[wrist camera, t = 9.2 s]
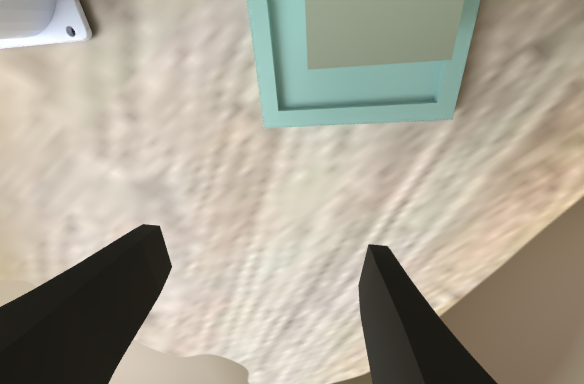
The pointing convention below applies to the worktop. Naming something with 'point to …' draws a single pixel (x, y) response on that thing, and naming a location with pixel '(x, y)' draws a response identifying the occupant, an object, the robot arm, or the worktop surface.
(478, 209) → the worktop surface
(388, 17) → the tea tin
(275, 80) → the tray
